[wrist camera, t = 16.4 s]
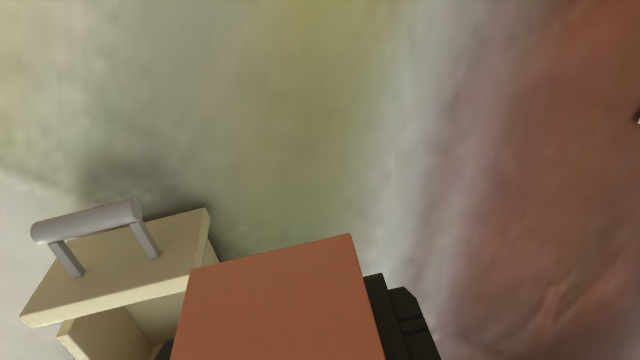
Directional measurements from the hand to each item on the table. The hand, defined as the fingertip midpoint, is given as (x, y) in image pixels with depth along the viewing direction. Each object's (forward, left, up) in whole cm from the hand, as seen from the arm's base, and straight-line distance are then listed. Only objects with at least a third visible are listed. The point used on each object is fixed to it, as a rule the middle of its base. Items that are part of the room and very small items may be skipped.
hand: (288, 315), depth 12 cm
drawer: (+12, +10, -16) cm, 22 cm away
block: (0, 0, 0) cm, 0 cm away
